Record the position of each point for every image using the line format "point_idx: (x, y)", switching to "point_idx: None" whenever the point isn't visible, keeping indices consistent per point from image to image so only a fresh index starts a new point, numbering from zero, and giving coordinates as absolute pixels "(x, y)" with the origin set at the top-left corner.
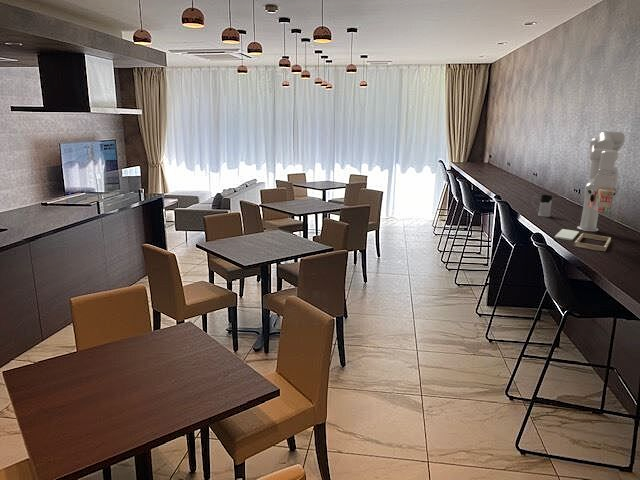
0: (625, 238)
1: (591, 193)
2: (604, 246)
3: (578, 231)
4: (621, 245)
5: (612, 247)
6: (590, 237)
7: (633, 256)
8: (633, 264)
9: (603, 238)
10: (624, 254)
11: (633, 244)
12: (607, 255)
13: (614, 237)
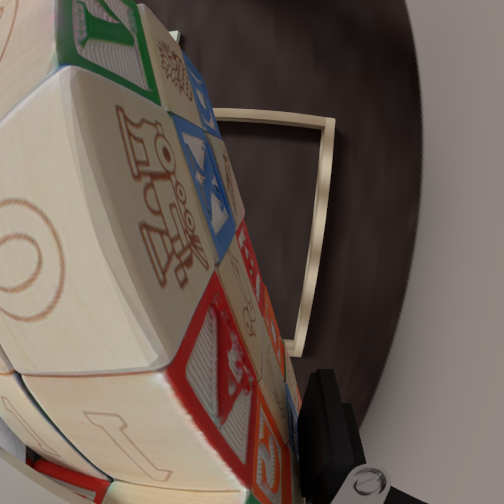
0: (382, 26)
1: (38, 455)
2: (297, 349)
3: (174, 35)
4: (376, 183)
5: (336, 255)
6: (233, 120)
7: (387, 351)
8: (359, 425)
9: (297, 124)
10: (364, 344)
11: (419, 130)
12: (303, 388)
13: (340, 27)
